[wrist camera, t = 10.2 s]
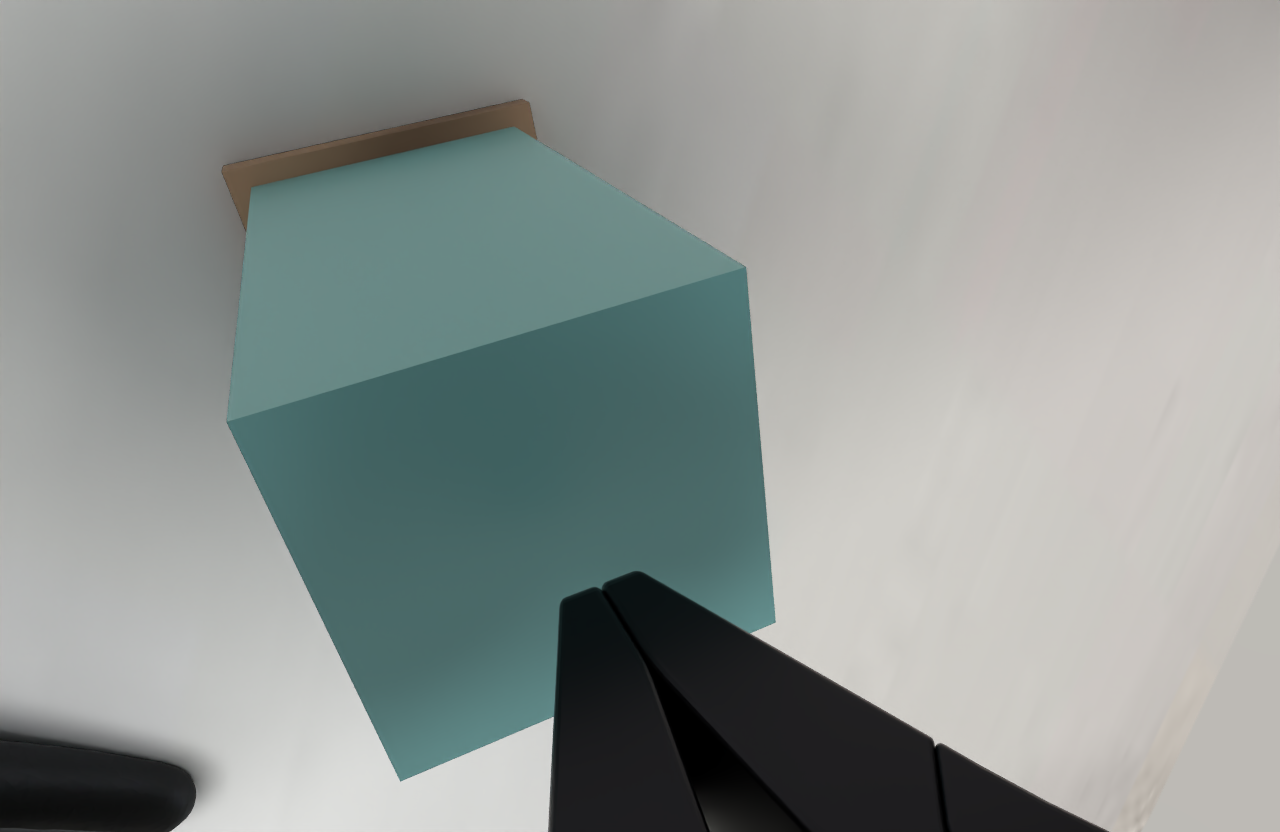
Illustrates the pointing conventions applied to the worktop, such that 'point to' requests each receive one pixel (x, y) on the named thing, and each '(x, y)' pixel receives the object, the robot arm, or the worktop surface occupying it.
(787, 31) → the worktop surface
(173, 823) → the can opener
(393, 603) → the teal rectangular block
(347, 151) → the brown pedestal
